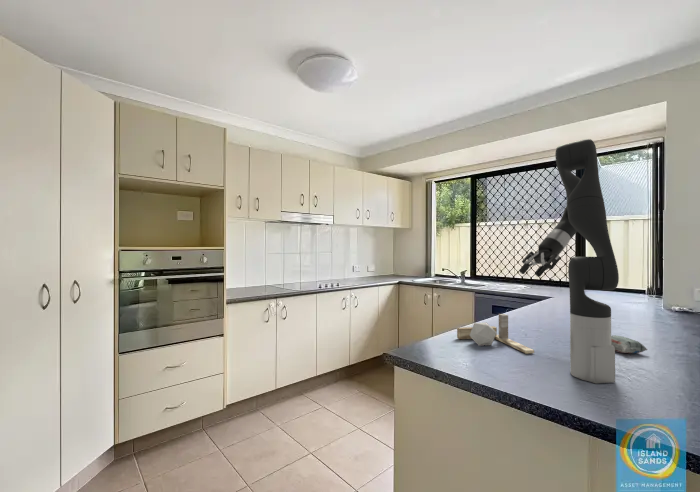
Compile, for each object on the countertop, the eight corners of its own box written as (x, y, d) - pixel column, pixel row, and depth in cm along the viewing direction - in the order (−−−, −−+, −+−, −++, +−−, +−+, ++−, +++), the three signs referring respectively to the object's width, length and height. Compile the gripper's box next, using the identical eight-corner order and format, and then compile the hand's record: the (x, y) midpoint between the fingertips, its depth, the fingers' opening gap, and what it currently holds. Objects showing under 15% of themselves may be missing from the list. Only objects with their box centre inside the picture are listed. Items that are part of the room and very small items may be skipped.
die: (496, 350, 116) (503, 326, 120) (474, 338, 116) (482, 315, 120) (483, 352, 124) (490, 329, 128) (463, 341, 124) (470, 318, 128)
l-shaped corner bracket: (534, 353, 111) (533, 323, 111) (486, 355, 108) (486, 325, 108) (497, 336, 132) (497, 311, 132) (457, 337, 130) (457, 312, 130)
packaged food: (625, 357, 107) (625, 342, 107) (593, 346, 119) (593, 333, 119) (648, 356, 108) (648, 341, 109) (615, 346, 120) (615, 332, 120)
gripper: (535, 236, 135) (510, 265, 133) (563, 236, 121) (535, 269, 119) (546, 249, 136) (522, 278, 134) (575, 250, 122) (549, 283, 120)
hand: (528, 274), depth 127 cm, fingers open, 8 cm apart
